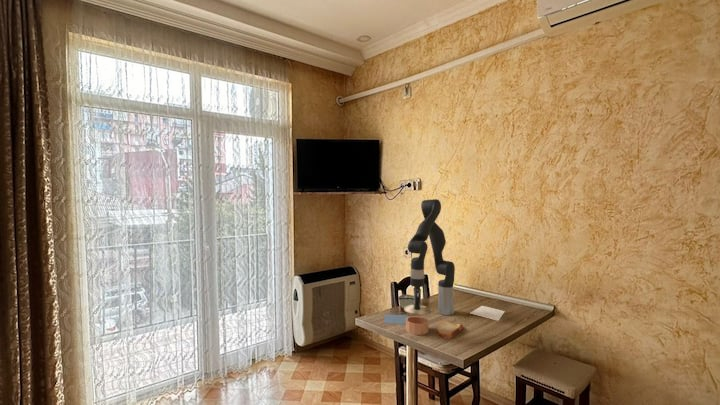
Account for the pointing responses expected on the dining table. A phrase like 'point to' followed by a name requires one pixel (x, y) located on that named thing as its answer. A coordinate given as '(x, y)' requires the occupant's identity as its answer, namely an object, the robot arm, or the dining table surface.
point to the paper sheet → (488, 312)
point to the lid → (412, 310)
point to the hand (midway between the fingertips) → (417, 308)
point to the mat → (395, 319)
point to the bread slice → (448, 329)
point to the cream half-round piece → (405, 301)
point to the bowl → (417, 325)
